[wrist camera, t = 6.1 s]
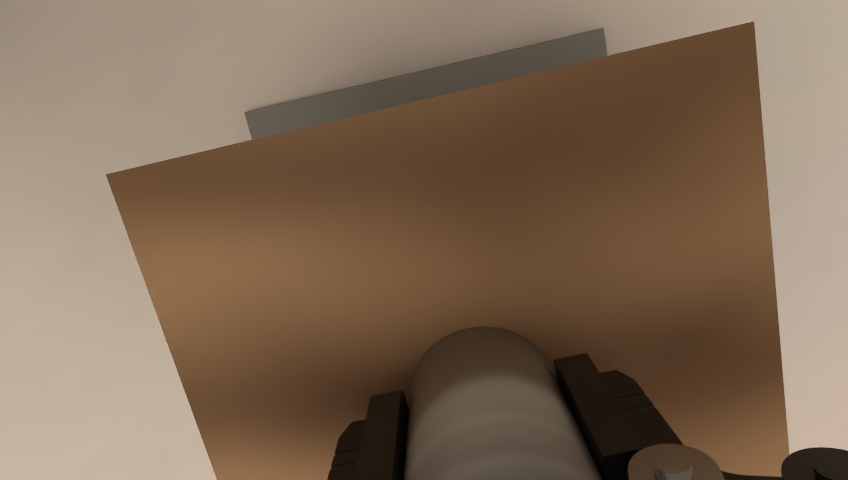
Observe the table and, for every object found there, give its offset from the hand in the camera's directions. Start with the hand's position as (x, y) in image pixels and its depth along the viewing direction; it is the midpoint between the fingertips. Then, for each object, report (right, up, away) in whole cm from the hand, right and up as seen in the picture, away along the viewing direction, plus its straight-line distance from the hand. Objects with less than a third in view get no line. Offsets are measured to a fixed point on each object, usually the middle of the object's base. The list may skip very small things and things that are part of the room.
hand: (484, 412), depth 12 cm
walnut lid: (0, 0, +2) cm, 2 cm away
